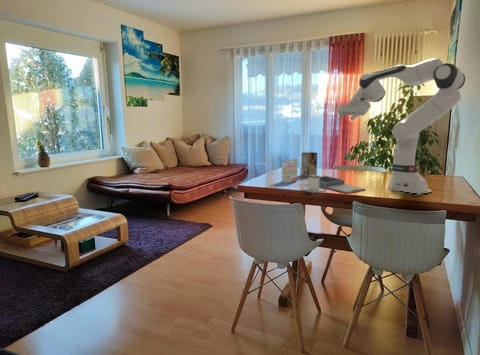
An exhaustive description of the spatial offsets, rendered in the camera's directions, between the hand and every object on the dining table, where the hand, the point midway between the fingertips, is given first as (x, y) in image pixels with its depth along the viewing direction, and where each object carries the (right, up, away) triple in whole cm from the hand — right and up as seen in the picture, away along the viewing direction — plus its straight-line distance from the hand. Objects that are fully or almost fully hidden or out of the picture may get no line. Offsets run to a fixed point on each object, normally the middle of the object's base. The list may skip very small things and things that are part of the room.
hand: (345, 119), depth 206 cm
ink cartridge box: (-33, -39, +9) cm, 52 cm away
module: (-23, -43, -15) cm, 50 cm away
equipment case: (-8, -41, -6) cm, 43 cm away
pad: (-23, -43, -14) cm, 51 cm away
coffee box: (-16, -34, +31) cm, 49 cm away
